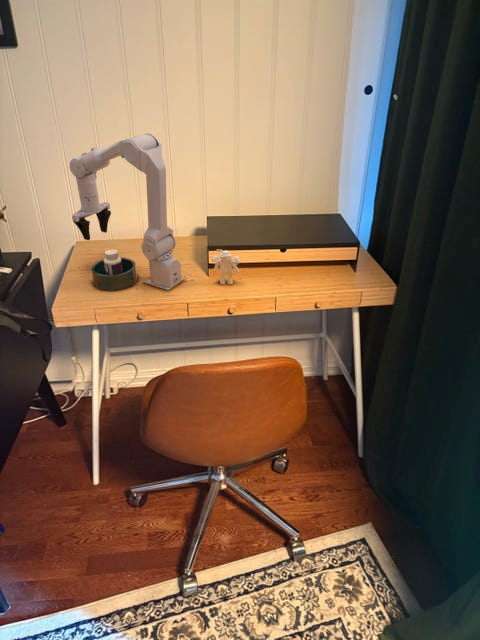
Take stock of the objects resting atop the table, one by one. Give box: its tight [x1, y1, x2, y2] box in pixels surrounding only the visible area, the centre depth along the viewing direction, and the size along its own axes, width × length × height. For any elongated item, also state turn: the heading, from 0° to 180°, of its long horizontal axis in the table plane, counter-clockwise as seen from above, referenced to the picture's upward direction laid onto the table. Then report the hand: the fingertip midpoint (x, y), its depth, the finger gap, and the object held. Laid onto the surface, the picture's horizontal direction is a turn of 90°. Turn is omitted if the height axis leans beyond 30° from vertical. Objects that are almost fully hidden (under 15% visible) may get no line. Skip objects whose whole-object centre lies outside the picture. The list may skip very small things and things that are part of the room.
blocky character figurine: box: [211, 248, 242, 285], centre depth 148 cm, size 9×4×12 cm, turn 86°
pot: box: [90, 256, 138, 292], centre depth 152 cm, size 14×14×5 cm
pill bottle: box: [103, 248, 123, 275], centre depth 150 cm, size 5×5×10 cm
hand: (95, 235), depth 158 cm, fingers open, 7 cm apart
